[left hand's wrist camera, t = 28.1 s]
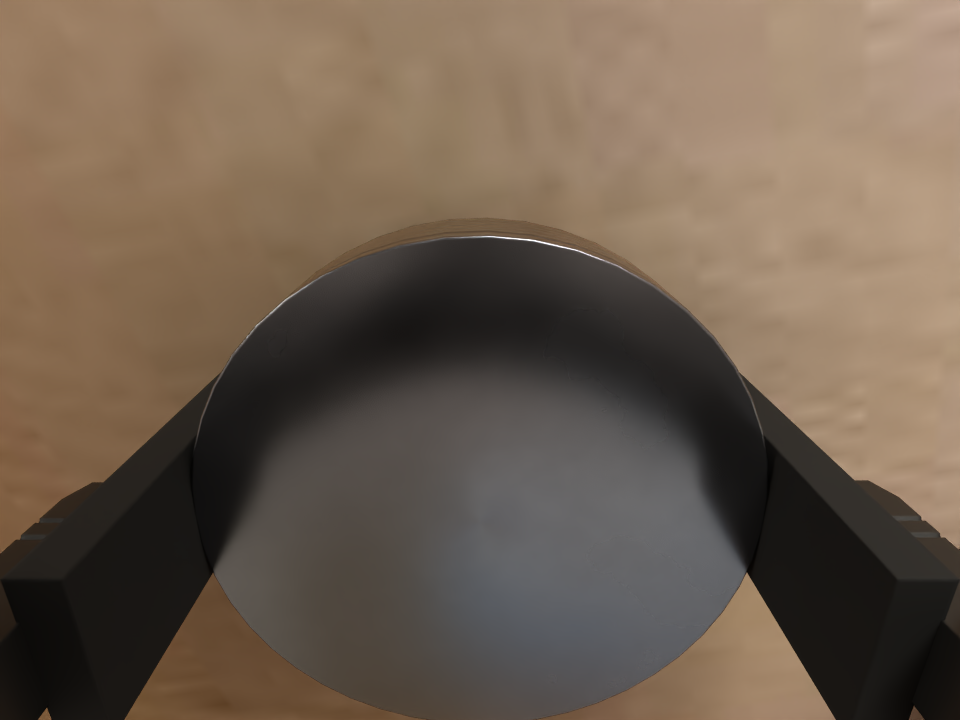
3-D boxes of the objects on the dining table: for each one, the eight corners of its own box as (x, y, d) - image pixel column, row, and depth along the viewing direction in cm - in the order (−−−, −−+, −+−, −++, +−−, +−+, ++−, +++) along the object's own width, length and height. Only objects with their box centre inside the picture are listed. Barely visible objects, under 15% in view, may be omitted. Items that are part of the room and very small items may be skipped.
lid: (491, 86, 10) (493, 76, 8) (822, 472, 12) (880, 531, 11) (134, 457, 12) (74, 514, 10) (472, 711, 15) (471, 792, 13)
